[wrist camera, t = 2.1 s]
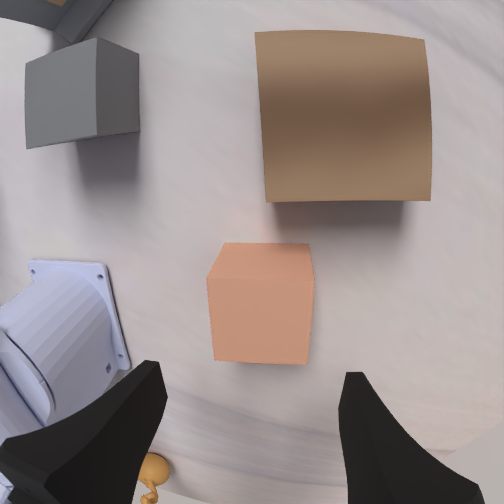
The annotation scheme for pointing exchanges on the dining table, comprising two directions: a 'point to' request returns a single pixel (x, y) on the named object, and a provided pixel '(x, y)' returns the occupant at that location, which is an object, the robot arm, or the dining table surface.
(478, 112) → the dining table surface
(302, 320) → the terracotta cube
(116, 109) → the charcoal cube
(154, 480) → the figurine
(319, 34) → the walnut base block
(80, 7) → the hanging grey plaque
